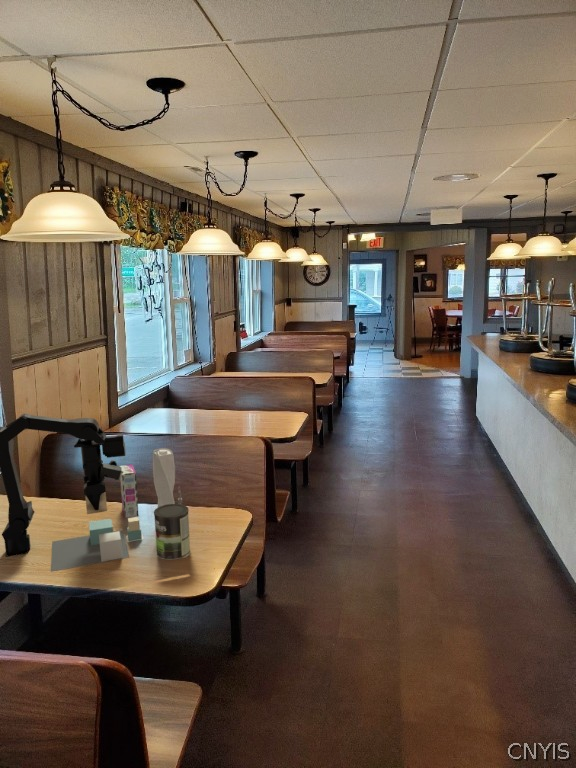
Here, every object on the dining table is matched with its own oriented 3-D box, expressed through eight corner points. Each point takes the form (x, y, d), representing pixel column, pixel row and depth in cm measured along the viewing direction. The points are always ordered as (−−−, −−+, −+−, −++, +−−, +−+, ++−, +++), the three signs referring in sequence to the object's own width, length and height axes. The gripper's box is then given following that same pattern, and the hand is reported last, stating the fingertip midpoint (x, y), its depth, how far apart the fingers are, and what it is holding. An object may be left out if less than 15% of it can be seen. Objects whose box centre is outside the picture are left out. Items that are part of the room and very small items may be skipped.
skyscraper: (174, 530, 195) (169, 450, 190) (151, 528, 197) (146, 448, 192) (184, 520, 203) (180, 442, 198) (163, 518, 205) (158, 441, 200)
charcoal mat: (51, 573, 169) (50, 571, 169) (52, 543, 188) (52, 541, 188) (129, 559, 176) (129, 557, 176) (123, 531, 196) (123, 529, 195)
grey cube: (101, 561, 174) (99, 542, 173) (100, 552, 179) (98, 534, 178) (122, 557, 176) (121, 539, 175) (120, 549, 181) (119, 531, 180)
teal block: (90, 545, 185) (89, 530, 184) (90, 536, 191) (88, 522, 190) (114, 541, 187) (112, 526, 186) (112, 532, 193) (111, 518, 192)
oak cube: (87, 514, 182) (85, 496, 181) (86, 507, 188) (84, 489, 186) (107, 511, 184) (105, 493, 183) (106, 504, 190) (104, 486, 188)
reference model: (127, 543, 187) (126, 523, 185) (126, 537, 191) (124, 517, 190) (143, 540, 188) (142, 521, 187) (141, 534, 193) (140, 515, 192)
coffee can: (167, 565, 172) (164, 520, 170) (150, 553, 180) (147, 509, 177) (197, 554, 179) (194, 510, 176) (180, 542, 186) (177, 500, 184)
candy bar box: (139, 517, 207) (136, 472, 204) (125, 519, 205) (121, 474, 202) (135, 506, 217) (132, 463, 214) (122, 508, 216) (118, 465, 213)
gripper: (120, 464, 177) (125, 513, 180) (116, 447, 194) (120, 492, 197) (81, 469, 173) (86, 519, 176) (81, 452, 190) (85, 497, 193)
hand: (96, 506), depth 186 cm, fingers closed on oak cube, 6 cm apart
